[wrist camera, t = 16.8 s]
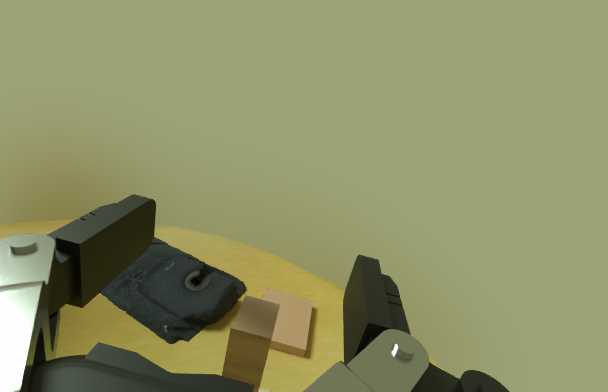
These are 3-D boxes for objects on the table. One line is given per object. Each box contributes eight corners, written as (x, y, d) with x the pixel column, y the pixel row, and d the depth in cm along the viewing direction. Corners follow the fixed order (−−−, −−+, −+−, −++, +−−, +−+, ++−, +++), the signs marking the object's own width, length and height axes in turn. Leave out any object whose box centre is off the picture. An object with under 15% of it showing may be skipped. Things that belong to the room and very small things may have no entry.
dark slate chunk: (158, 240, 59) (160, 218, 57) (253, 293, 51) (258, 270, 50) (70, 277, 45) (68, 250, 44) (180, 357, 38) (184, 327, 36)
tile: (305, 350, 41) (313, 300, 50) (247, 333, 41) (265, 287, 50) (302, 359, 41) (310, 309, 51) (245, 343, 42) (263, 296, 51)
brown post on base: (247, 495, 27) (282, 371, 22) (181, 476, 27) (199, 348, 22) (269, 397, 35) (298, 291, 30) (219, 383, 35) (239, 275, 30)
